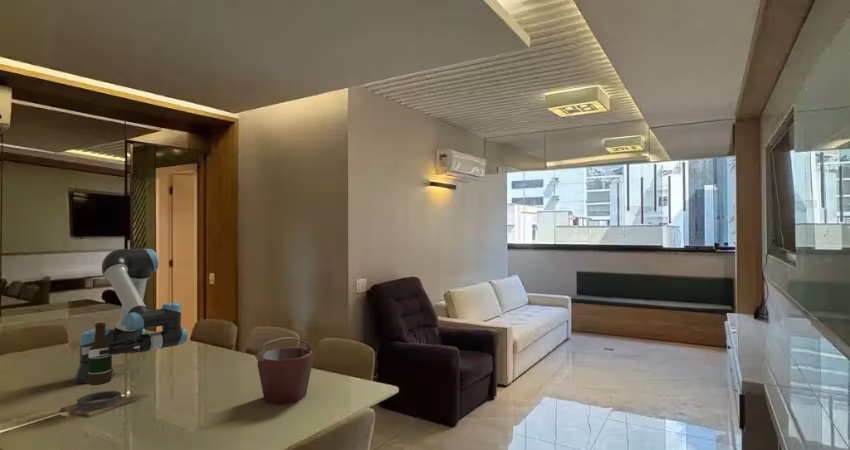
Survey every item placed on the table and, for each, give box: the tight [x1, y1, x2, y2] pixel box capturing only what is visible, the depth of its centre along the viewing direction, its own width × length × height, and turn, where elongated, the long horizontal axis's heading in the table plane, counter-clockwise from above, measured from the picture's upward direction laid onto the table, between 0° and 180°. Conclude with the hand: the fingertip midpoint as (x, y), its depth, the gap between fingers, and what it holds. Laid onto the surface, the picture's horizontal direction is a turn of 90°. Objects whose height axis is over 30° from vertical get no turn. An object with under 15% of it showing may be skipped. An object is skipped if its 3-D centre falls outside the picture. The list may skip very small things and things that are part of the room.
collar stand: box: [60, 390, 137, 418], centre depth 185 cm, size 18×18×4 cm
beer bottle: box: [87, 322, 113, 386], centre depth 185 cm, size 8×8×24 cm
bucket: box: [254, 336, 314, 406], centre depth 194 cm, size 24×22×25 cm
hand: (85, 352), depth 182 cm, fingers closed on beer bottle, 7 cm apart
